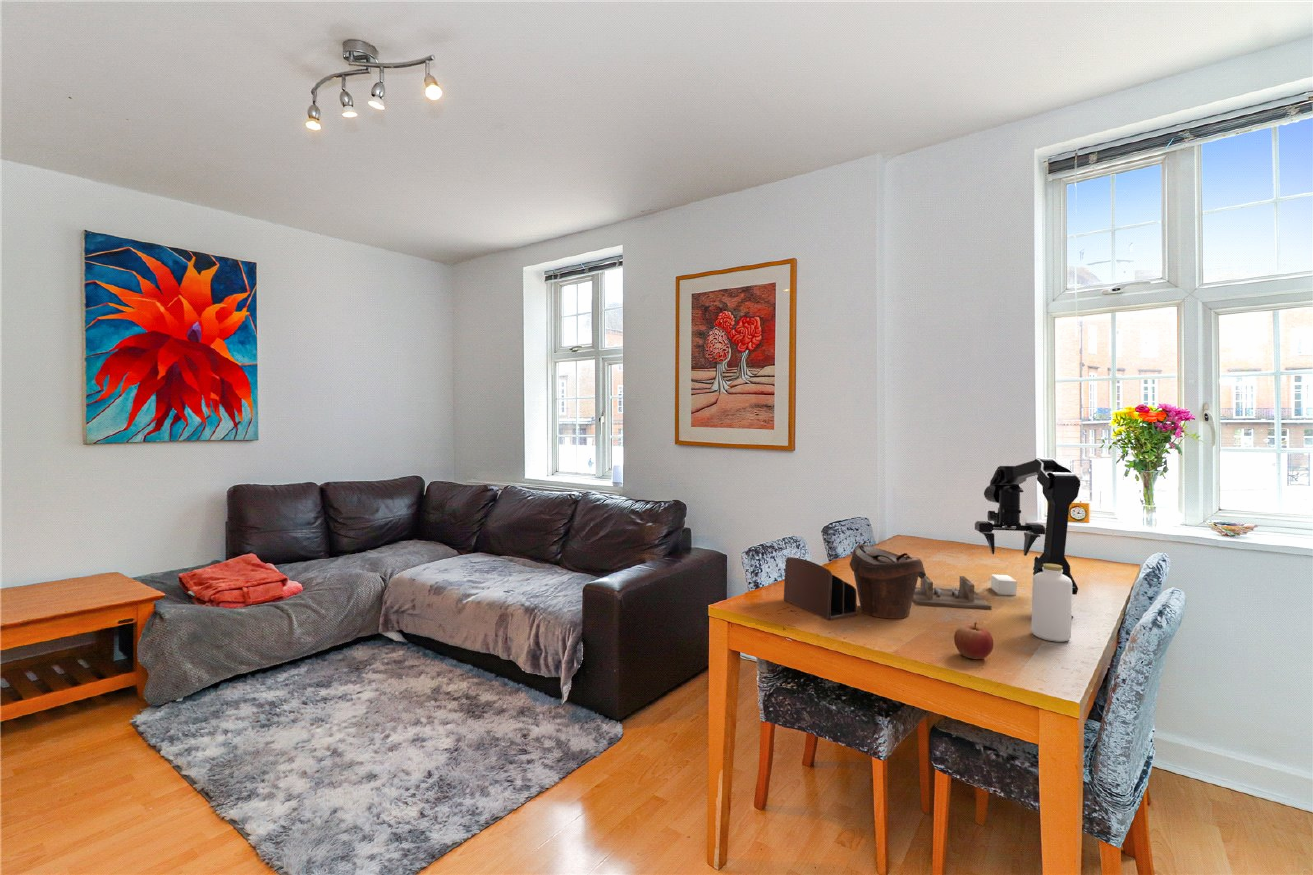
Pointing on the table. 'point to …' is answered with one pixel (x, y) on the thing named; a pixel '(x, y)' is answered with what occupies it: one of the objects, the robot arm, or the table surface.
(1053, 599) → the potion bottle
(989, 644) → the apple
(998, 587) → the white rectangular block
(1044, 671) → the table surface
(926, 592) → the rack
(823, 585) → the letter holder
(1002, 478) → the robot arm
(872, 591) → the brown lidded bucket
